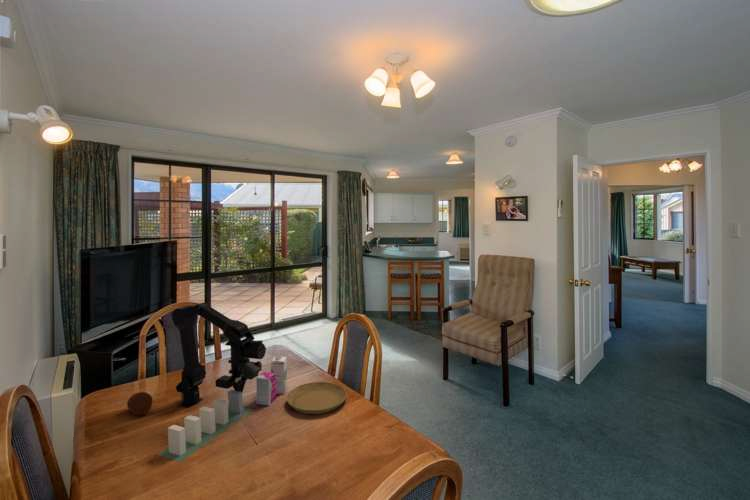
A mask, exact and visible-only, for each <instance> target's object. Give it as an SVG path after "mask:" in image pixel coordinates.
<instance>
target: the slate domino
mask: <svg viewBox="0 0 750 500" xmlns="http://www.w3.org/2000/svg"><path fill="white" fill-rule="evenodd" d="M227 399H228V400H227V401H228V408H230V411H231V412H235V413H239V414H241V413H242V412H243V411H244V408H245V406H244V400H243V392H240V391H235V390H234V389H230V390H229V391H228V392H227Z"/></svg>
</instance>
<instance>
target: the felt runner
mask: <svg viewBox="0 0 750 500" xmlns="http://www.w3.org/2000/svg"><path fill="white" fill-rule="evenodd" d="M252 411H253V409H251V408H247V407H244V411H243V412H242V413H241V414H239V413H235V412H231V411H230V408H229V407H228V423H226V424H225V425H222V424H219V423H215V426H216V431H215V432H214V433H212V434H208V433H204V432H201V439H202V441H201V442H200V443H198V444H197V445H196V444H193V443H189V442H186V452H185V453H184V454H183V455H181V456H179V455H176V454H173V453H170V452H169V446H168V447H166V448H165V449H163V450H162V451H160V452H158V453H157V455H158V456H161V457H164V458H167V459H171V460H174V461H176V462H180V463H182V462H183V461H184V460H186V459H187V458H188V457H189V456H191V455H192V454H194V453H196V452H197V451H198V450H199V449H201V448H202V447H204V446H205V445H207V444H208V443H209V442H210V441H211V440H213V439H214V438H216V437H217V436H219V435H220V434H222V433H223V432H224V431H226V430H227V429H228V428H231V426H233V425H235V424H236V423H238V421H240V420H241V419H242V418H245V416H247V415H248V414H250V412H252Z"/></svg>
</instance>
